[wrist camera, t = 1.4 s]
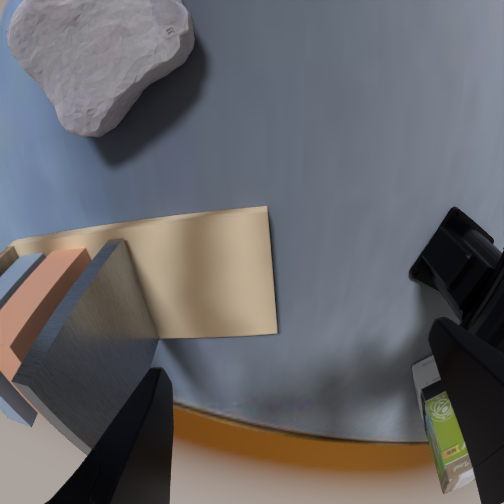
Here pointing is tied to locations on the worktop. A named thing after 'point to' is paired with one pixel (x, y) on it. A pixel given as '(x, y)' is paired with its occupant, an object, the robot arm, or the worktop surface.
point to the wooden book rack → (187, 268)
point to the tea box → (441, 427)
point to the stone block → (99, 54)
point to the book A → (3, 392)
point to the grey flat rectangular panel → (91, 350)
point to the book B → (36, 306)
